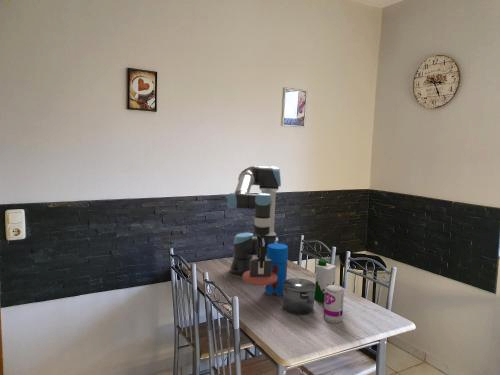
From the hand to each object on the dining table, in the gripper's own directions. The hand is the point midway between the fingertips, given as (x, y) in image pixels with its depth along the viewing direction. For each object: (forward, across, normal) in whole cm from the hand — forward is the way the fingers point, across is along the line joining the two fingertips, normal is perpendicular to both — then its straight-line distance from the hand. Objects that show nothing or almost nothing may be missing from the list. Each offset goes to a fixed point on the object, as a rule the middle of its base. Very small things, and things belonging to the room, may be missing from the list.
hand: (260, 272), depth 180 cm
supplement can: (+15, +20, +31) cm, 40 cm away
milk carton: (+16, -1, +34) cm, 37 cm away
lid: (+3, 0, 0) cm, 3 cm away
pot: (+15, +8, +18) cm, 25 cm away
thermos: (+16, -12, +11) cm, 23 cm away
